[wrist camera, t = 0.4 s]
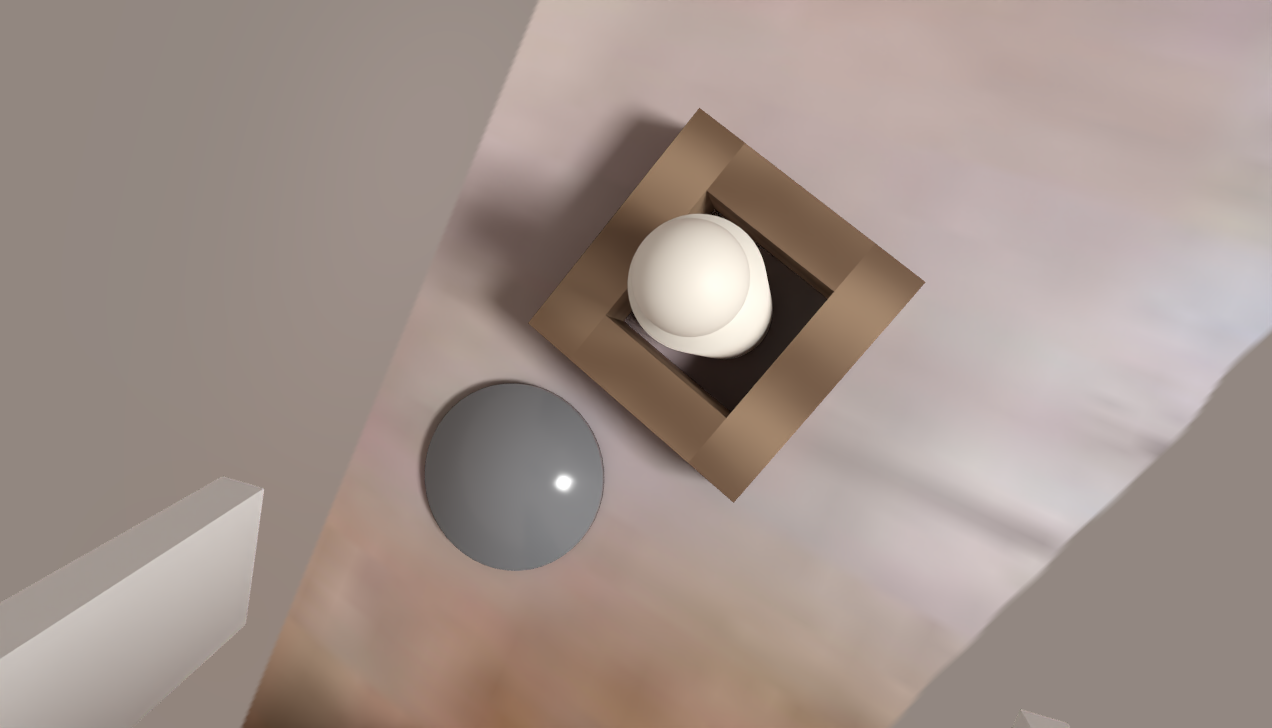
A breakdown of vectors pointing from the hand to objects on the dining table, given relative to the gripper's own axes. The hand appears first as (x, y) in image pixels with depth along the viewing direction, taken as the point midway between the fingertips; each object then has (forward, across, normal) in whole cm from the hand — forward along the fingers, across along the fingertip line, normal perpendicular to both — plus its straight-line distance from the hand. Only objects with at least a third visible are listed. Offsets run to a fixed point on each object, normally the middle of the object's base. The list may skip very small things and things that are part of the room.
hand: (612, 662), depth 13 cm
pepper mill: (+27, +1, +2) cm, 28 cm away
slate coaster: (+26, -7, -9) cm, 29 cm away
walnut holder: (+27, +1, +2) cm, 28 cm away
